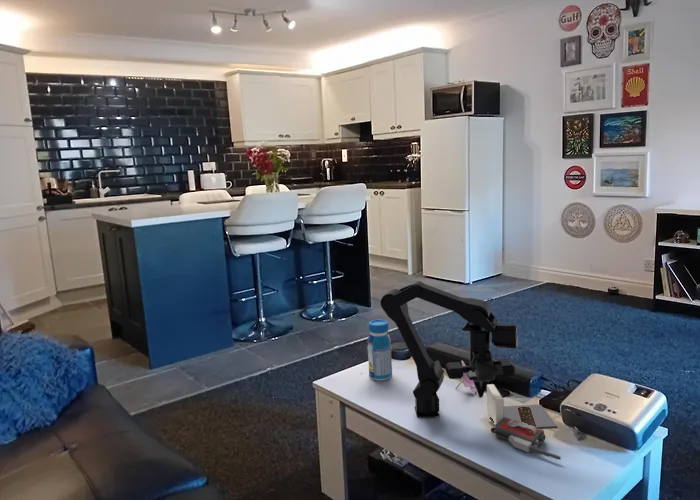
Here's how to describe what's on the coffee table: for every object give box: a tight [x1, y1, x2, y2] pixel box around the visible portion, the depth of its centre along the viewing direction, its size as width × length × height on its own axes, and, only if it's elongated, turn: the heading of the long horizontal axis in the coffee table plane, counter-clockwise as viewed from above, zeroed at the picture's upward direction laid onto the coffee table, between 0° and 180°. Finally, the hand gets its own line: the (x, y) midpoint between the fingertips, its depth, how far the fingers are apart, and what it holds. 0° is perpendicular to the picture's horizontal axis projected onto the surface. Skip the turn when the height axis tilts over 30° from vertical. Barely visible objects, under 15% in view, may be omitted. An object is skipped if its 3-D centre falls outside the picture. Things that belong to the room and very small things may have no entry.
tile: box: [486, 383, 505, 426], centre depth 155 cm, size 2×10×8 cm, turn 0°
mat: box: [504, 404, 558, 429], centre depth 156 cm, size 14×13×1 cm
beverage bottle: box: [366, 319, 393, 382], centre depth 188 cm, size 8×8×20 cm
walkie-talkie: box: [490, 418, 561, 460], centre depth 141 cm, size 9×4×20 cm
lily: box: [455, 359, 476, 397], centre depth 174 cm, size 11×11×9 cm
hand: (480, 396), depth 155 cm, fingers closed
